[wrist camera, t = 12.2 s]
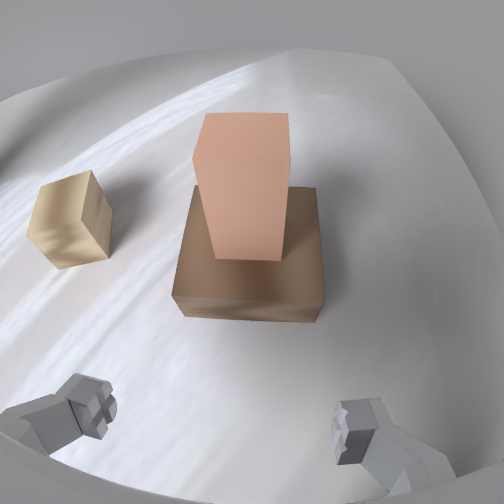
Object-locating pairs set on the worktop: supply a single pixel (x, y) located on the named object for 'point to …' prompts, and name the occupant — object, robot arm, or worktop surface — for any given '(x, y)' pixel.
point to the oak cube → (72, 221)
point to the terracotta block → (244, 182)
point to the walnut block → (253, 270)
